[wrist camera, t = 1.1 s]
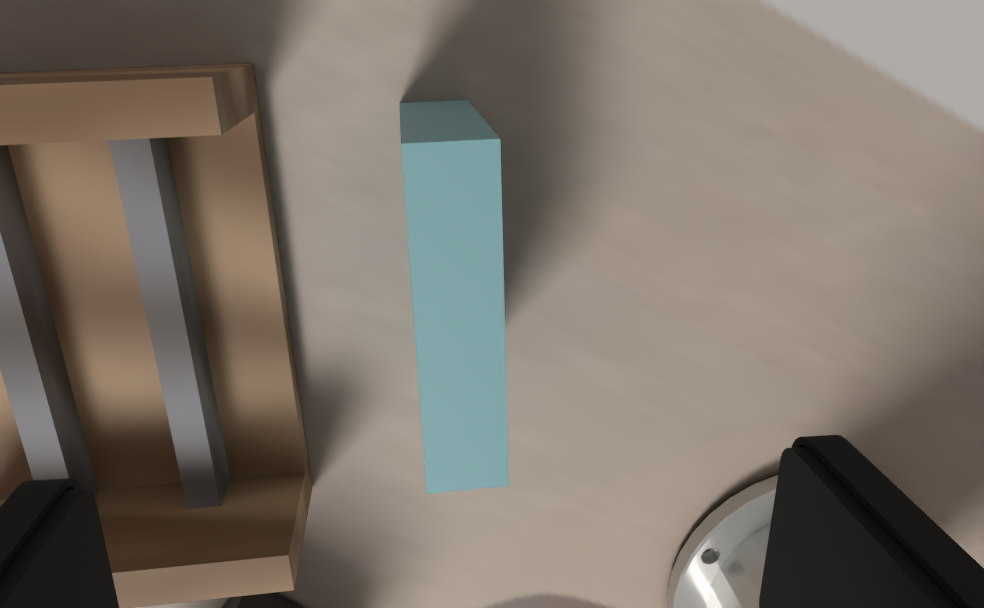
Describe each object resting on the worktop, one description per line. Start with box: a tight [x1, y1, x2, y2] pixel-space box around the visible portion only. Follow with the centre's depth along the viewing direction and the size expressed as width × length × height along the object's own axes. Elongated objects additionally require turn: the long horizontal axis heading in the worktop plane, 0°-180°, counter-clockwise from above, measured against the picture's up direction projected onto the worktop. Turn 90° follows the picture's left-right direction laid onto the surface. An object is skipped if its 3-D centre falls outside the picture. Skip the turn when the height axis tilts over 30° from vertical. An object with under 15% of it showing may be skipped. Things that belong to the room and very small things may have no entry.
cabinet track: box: [0, 63, 312, 608], centre depth 25 cm, size 17×12×6 cm
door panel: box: [400, 100, 509, 494], centre depth 24 cm, size 10×2×9 cm, turn 2°
